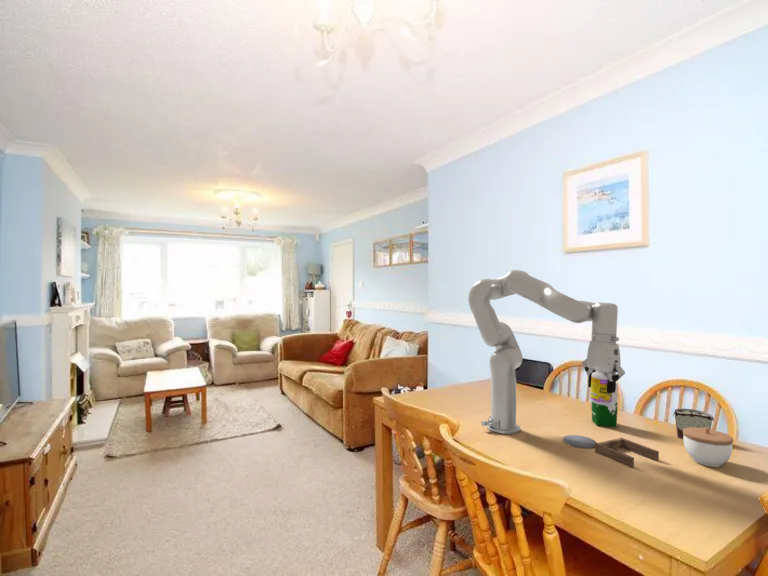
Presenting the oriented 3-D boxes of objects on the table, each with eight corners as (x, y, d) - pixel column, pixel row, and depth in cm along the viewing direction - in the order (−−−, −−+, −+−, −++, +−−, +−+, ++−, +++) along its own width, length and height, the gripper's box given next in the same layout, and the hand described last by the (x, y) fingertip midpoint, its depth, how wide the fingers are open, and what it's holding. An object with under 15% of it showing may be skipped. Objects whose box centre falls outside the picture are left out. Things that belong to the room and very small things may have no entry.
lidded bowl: (736, 474, 121) (737, 438, 121) (684, 464, 127) (684, 430, 127) (728, 459, 131) (728, 425, 131) (680, 451, 138) (681, 419, 138)
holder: (631, 467, 125) (631, 458, 125) (594, 452, 136) (594, 443, 136) (658, 460, 130) (658, 451, 130) (621, 446, 142) (621, 437, 142)
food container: (708, 437, 151) (708, 410, 151) (714, 442, 145) (714, 415, 145) (669, 432, 156) (669, 406, 156) (672, 437, 150) (673, 410, 150)
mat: (581, 450, 138) (581, 448, 138) (556, 439, 148) (556, 437, 148) (604, 445, 142) (604, 443, 142) (577, 435, 152) (577, 433, 152)
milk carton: (589, 419, 170) (589, 372, 170) (612, 421, 168) (612, 373, 168) (595, 426, 161) (595, 377, 161) (620, 428, 160) (620, 378, 159)
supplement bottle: (597, 405, 136) (599, 367, 135) (586, 399, 142) (587, 363, 142) (616, 405, 136) (618, 368, 136) (604, 400, 143) (605, 364, 142)
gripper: (635, 342, 132) (632, 395, 133) (589, 334, 148) (587, 382, 149) (619, 342, 129) (617, 397, 130) (574, 335, 145) (572, 384, 146)
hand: (601, 389), depth 139 cm, fingers closed on supplement bottle, 6 cm apart
